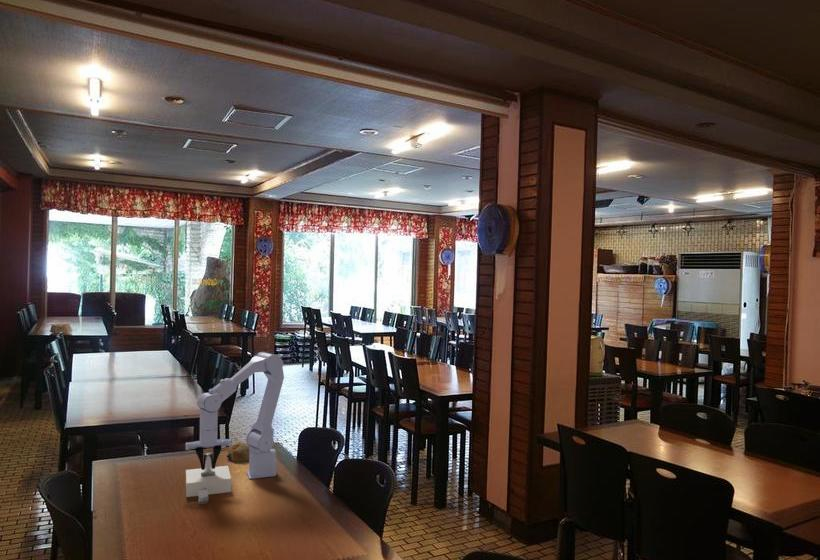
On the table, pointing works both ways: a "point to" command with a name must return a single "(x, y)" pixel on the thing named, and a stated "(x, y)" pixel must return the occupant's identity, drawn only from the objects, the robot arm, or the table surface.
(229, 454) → the bread roll
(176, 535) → the table surface
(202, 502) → the short steel pin
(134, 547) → the table surface
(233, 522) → the table surface
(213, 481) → the hole block
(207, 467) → the tall steel pin
